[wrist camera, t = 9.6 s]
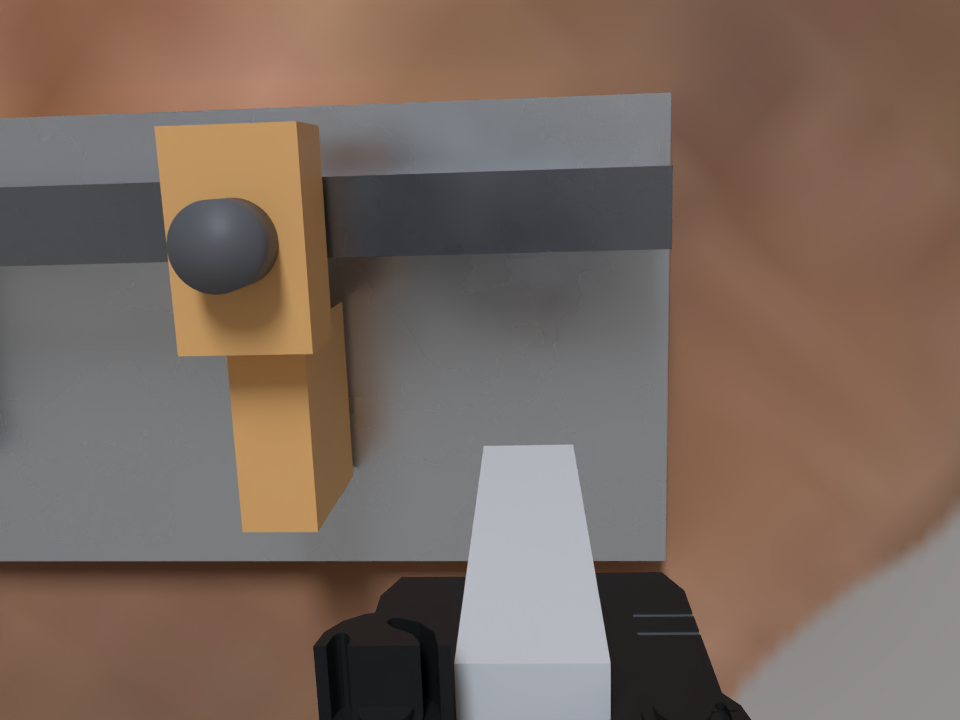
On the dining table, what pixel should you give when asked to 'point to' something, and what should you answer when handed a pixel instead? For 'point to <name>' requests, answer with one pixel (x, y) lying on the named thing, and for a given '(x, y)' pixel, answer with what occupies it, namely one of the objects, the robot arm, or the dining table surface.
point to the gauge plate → (345, 329)
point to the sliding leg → (262, 307)
